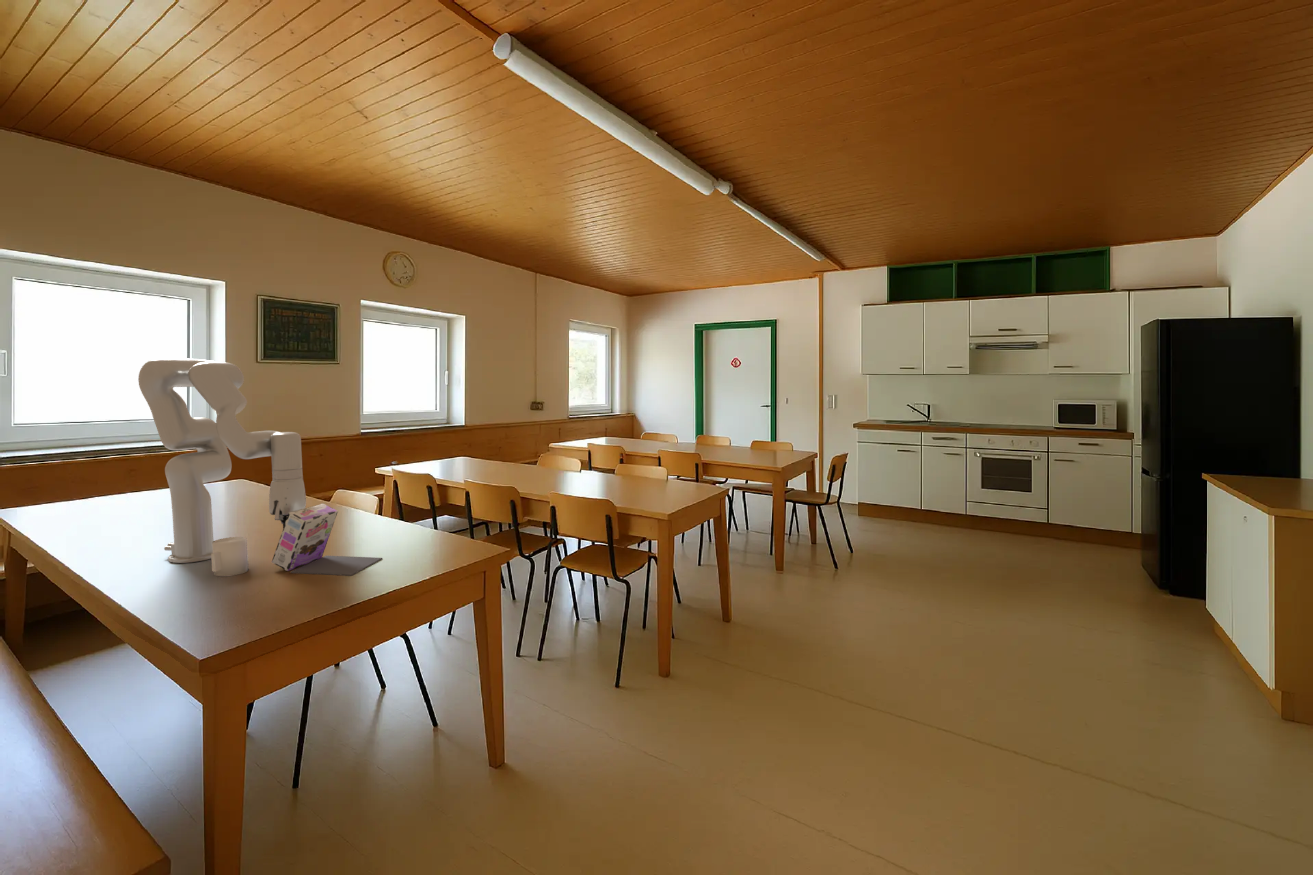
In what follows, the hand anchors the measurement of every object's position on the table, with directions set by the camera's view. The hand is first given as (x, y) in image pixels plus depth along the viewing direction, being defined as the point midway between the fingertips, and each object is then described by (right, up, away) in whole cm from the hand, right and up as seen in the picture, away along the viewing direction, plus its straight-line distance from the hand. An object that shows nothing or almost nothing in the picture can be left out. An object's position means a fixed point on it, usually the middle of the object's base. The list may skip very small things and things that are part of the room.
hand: (290, 536), depth 179 cm
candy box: (+2, -7, +1) cm, 8 cm away
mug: (-12, -9, -7) cm, 17 cm away
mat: (+14, -9, 0) cm, 17 cm away
